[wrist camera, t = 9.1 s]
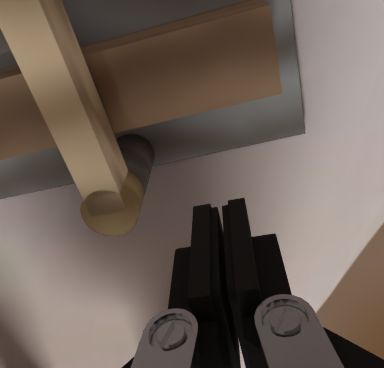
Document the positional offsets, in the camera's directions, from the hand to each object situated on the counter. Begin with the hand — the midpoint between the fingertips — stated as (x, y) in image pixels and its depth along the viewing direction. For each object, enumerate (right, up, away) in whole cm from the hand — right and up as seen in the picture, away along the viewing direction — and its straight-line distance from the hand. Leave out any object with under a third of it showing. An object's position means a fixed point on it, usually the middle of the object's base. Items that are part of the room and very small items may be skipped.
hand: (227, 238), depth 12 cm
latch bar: (-8, +6, +11) cm, 15 cm away
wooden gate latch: (-8, +10, +16) cm, 21 cm away
